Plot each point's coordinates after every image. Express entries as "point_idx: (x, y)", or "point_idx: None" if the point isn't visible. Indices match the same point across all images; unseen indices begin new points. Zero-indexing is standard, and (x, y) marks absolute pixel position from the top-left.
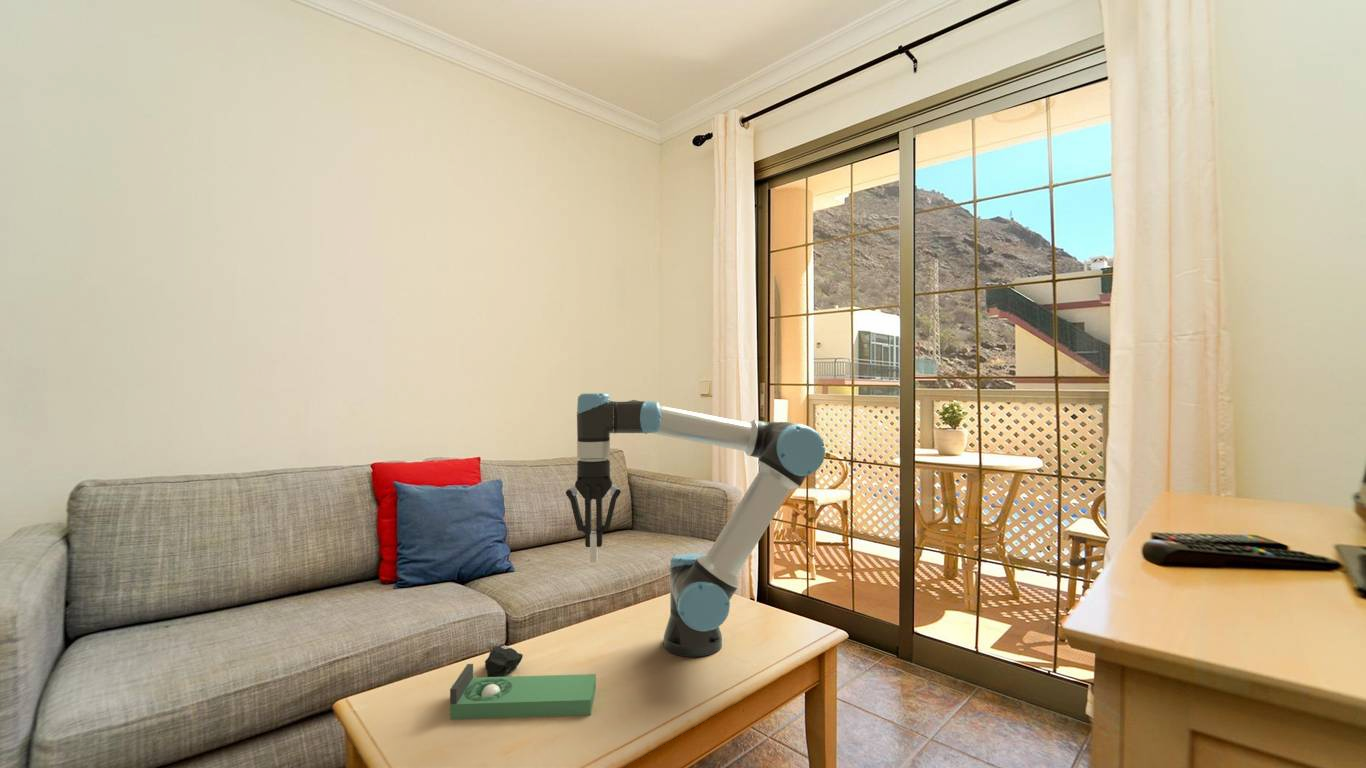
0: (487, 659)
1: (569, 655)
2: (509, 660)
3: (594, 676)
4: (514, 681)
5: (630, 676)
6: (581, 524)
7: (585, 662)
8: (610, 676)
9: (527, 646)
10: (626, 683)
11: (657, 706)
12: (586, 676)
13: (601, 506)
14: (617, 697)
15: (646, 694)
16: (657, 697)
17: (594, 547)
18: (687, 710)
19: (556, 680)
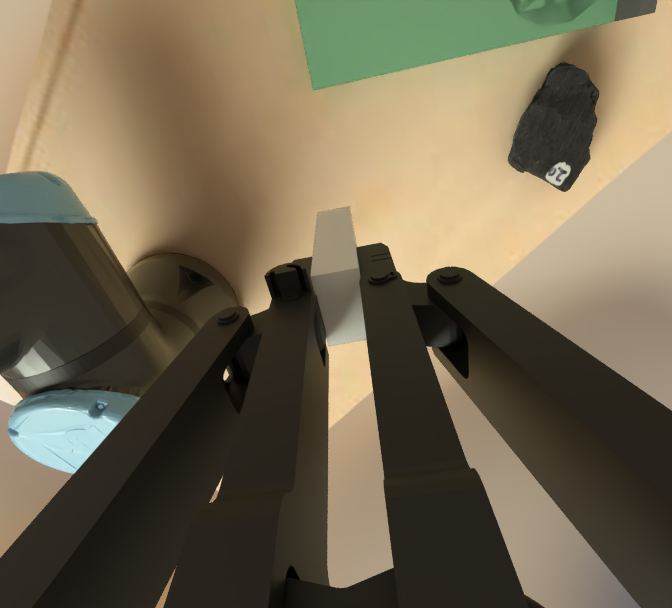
0: (595, 98)
1: (410, 230)
2: (537, 101)
3: (312, 76)
4: (503, 15)
5: (257, 155)
6: (443, 298)
7: (369, 204)
8: (299, 149)
9: (506, 257)
10: (255, 121)
11: (150, 18)
12: (331, 73)
13: (227, 473)
14: (252, 49)
15: (195, 75)
16: (166, 64)
17: (326, 237)
18: (77, 8)
19: (398, 38)
